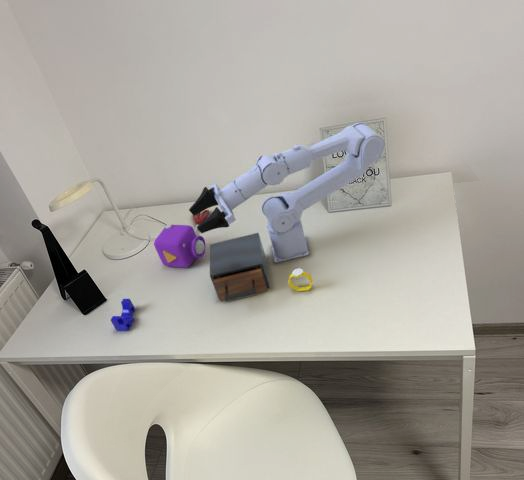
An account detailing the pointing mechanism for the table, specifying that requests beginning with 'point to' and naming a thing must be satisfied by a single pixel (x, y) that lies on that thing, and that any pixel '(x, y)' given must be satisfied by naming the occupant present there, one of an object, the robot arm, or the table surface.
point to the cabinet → (237, 257)
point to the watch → (299, 273)
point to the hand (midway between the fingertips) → (195, 221)
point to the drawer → (240, 284)
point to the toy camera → (179, 245)
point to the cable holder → (124, 316)
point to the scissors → (200, 220)
